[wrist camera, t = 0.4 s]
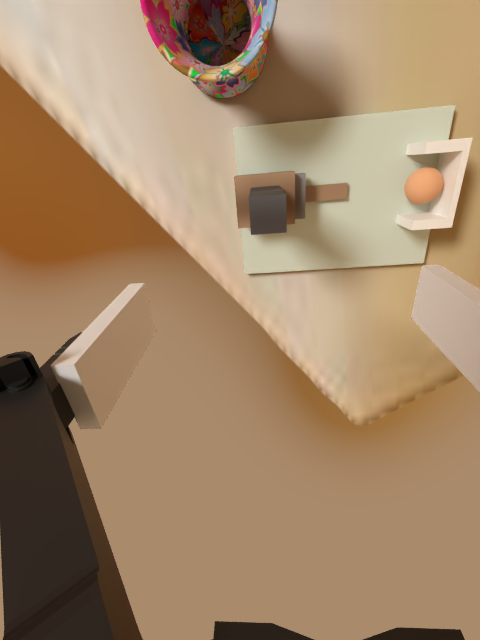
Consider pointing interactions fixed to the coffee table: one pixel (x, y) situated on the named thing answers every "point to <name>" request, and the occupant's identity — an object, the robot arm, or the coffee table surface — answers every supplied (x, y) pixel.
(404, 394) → the coffee table surface
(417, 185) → the ball
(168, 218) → the coffee table surface
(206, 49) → the mug
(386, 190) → the pitch
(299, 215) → the kicker
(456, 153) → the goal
